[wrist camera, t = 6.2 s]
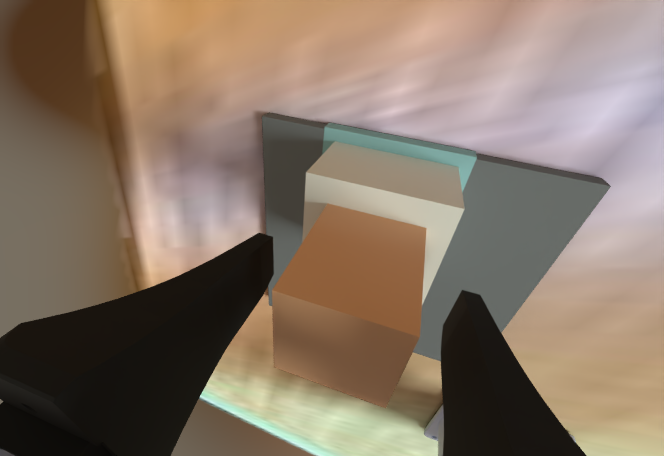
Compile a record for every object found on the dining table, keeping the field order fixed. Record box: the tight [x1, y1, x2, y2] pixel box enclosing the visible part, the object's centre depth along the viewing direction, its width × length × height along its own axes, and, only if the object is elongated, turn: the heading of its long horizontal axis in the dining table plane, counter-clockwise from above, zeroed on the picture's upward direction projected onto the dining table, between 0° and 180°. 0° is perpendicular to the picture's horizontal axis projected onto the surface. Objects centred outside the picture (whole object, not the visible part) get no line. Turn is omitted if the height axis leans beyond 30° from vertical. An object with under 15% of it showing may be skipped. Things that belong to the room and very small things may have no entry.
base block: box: [302, 141, 465, 305], centre depth 14 cm, size 6×6×4 cm
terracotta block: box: [272, 203, 427, 408], centre depth 11 cm, size 4×4×5 cm
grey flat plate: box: [262, 113, 611, 361], centre depth 18 cm, size 16×15×1 cm
